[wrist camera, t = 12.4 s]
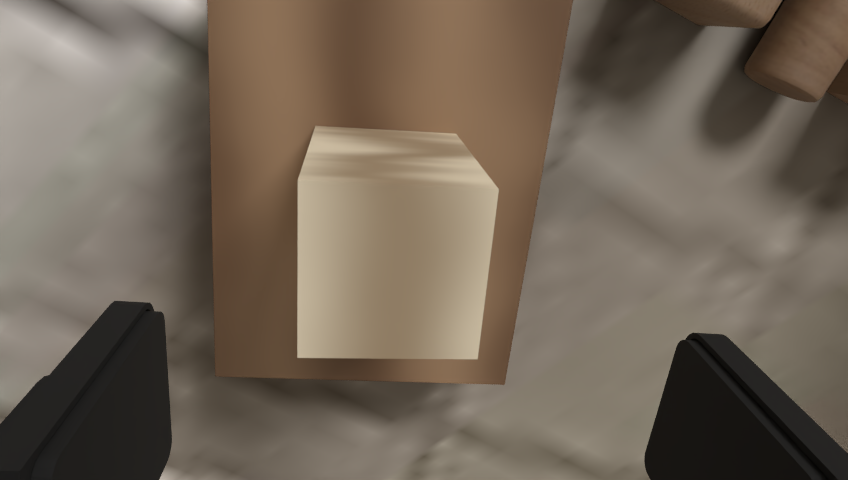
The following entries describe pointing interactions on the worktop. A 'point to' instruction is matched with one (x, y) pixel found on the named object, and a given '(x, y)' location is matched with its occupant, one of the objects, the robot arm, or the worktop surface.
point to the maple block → (392, 245)
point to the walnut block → (369, 109)
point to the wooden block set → (785, 41)
